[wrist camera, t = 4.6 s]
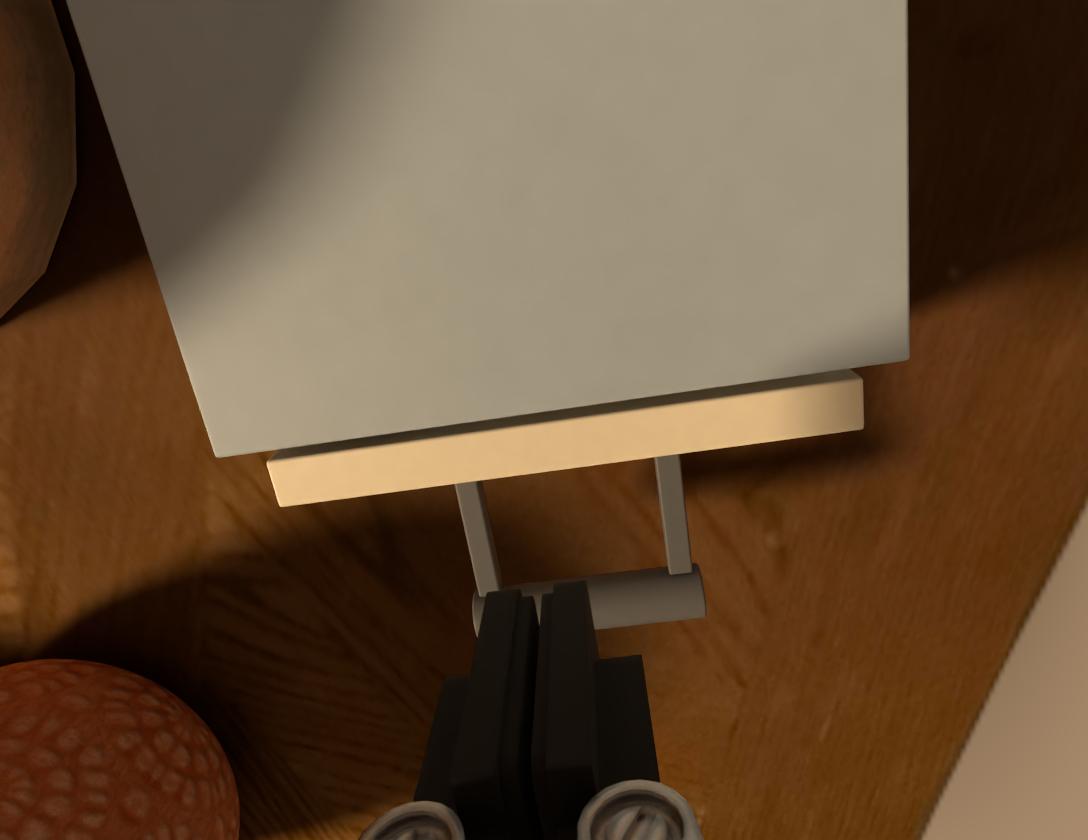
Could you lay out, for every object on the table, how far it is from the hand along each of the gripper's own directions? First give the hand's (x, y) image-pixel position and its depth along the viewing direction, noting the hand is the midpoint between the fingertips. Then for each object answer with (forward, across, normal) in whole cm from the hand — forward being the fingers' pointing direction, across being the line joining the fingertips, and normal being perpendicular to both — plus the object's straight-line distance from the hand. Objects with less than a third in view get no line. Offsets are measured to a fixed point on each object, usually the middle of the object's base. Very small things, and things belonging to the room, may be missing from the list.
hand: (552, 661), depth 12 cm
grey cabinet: (+11, 0, -10) cm, 15 cm away
